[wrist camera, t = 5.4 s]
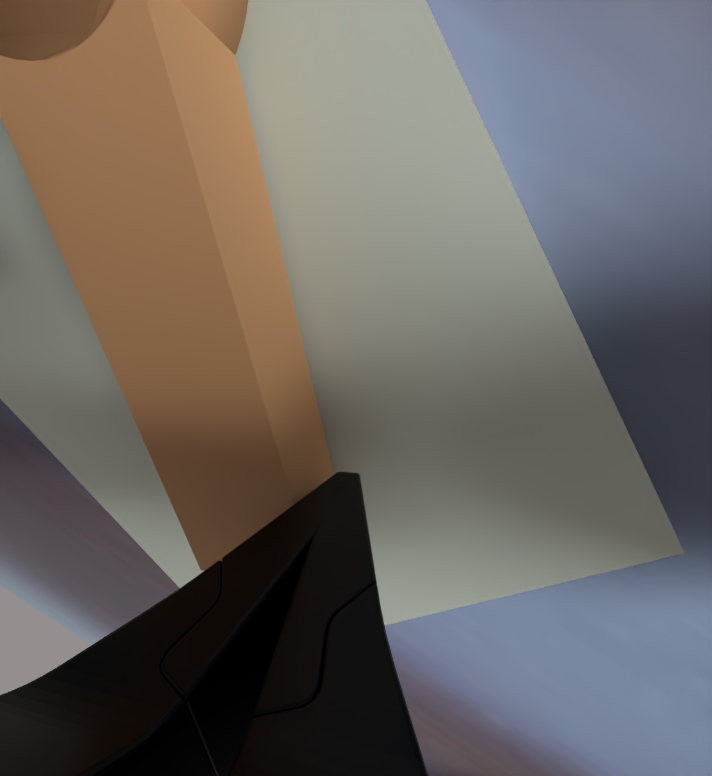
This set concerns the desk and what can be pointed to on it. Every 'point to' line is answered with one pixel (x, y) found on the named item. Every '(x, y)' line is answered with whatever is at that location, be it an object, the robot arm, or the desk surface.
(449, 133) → the base board
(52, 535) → the desk surface
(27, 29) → the link
